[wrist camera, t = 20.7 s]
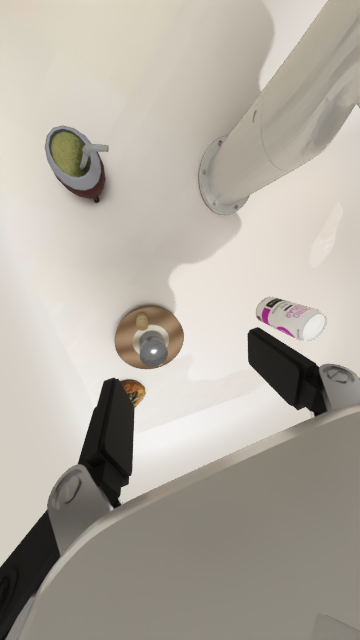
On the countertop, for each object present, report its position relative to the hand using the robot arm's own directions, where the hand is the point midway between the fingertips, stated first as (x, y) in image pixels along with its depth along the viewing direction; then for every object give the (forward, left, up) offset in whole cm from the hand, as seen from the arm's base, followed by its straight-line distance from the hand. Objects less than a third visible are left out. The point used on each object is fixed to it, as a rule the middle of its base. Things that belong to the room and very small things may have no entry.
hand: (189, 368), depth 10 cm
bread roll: (+32, +9, -30) cm, 45 cm away
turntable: (+11, +5, -28) cm, 30 cm away
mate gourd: (-12, -19, -30) cm, 37 cm away
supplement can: (-13, +34, -30) cm, 47 cm away
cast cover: (+11, +6, -26) cm, 28 cm away
